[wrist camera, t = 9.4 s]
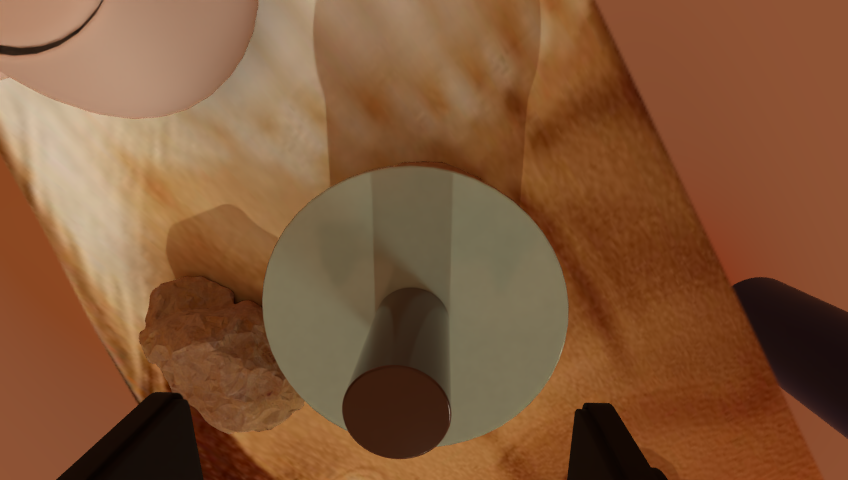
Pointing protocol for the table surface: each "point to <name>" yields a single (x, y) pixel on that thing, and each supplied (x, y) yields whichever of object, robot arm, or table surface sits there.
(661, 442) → the table surface
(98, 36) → the teapot
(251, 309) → the stone tool
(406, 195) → the lid
